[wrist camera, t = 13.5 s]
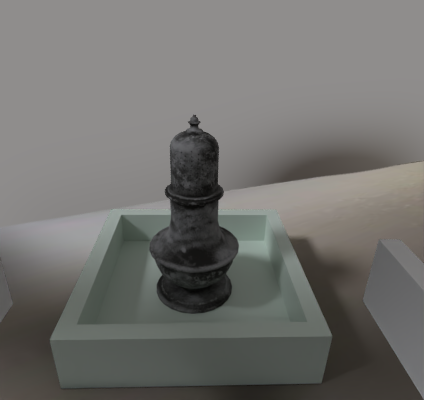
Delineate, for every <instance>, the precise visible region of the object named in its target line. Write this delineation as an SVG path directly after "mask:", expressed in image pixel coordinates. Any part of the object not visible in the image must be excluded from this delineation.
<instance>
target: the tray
mask: <svg viewBox="0 0 424 400" xmlns="http://www.w3.org/2000/svg"><path fill="white" fill-rule="evenodd" d="M170 221H171V209H111V211H110V213H109V215H108V217H107V220H106V222H105V224H104V226H103V228H102V230H101V232H100V234H99V236H98V239H97V241H96V243H95V245H94V247H93V249H92V251H91V253H90V255H89V258H88V260H87V262H86V264H85V266H84V268H83V270H82V272H81V275H80V277H79V279H78V281H77V283H76V285H75V287H74V289H73V291H72V294H71V296H70V298H69V300H68V302H67V304H66V306H65V308H64V310H63V313H62V315H61V317H60V319H59V321H58V323H57V325H56V327H55V329H54V332H53V334H52V336H51V338H50V340H49V341H50V345H51V349H52V353H53V357H54V362H55V366H56V370H57V374H58V378H59V383H60V387H61V389H66V388H117V387H167V386H218V385H269V384H319V383H322V380H323V375H324V371H325V367H326V362H327V358H328V354H329V349H330V345H331V341H332V334H331V332H330V330H329V327H328V325H327V323H326V321H325V318H324V316H323V314H322V312H321V309H320V307H319V305H318V303H317V300H316V298H315V296H314V294H313V291H312V289H311V287H310V285H309V282H308V280H307V278H306V276H305V273H304V271H303V269H302V267H301V264H300V262H299V260H298V258H297V255H296V253H295V251H294V249H293V246H292V244H291V242H290V240H289V237H288V235H287V233H286V231H285V228H284V226H283V224H282V222H281V219H280V217H279V215H278V213H277V210H238V209H218V223H219V226H221V227H223V228H225V229H227V230H228V231H230V232H231V233H232V234H233V235H234V236H235V237H236V238H237V241H238V243H239V249H238V253H237V255H236V257H235V258H234V259H233V263H232V265H231V266H230V268H229V270H228V272H227V273H226V274H227V276H228V277H229V279H230V280H231V284H232V291H231V295H230V297H229V299H228V300H227V301H226V302H225V303H224V304H223V305H222V306H220V307H218V308H216V309H215V310H212V311H209V312H205V313H196V314H190V313H181V312H178V311H175V310H172V309H171V308H169V307H167V306H166V305H164V304H163V303H162V301H161V300H160V299H159V297H158V295H157V282H158V280H159V278H160V277H161V276H162V273H161V272H160V270H159V268H158V266H157V264H156V262H155V259H154V258H153V257H152V255H151V253H150V251H149V247H150V242H151V240H152V238H153V236H154V235H156V234H157V233H158V232H159V231H160V230H162V229H164V228H166V227H168V226H169V225H170Z"/></svg>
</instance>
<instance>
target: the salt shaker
mask: <svg viewBox="0 0 424 400" xmlns="http://www.w3.org/2000/svg"><path fill="white" fill-rule="evenodd" d="M188 123H190V125H191V126H190V128H189V129H187V130H186V131H184V132H181V133H179V134H178V135H176V136H175V137H174V138H173V140H172V141H171V144H170V160H171V161H170V164H171V184H170V185H169V186H167V187H166V189H165V195H166V196H167V197H168V198H169V199H170V203H171V221H170V225H169V226H168V227H166V228H164V229H162V230H160V231H159V232H158V233H157V234H156V235H154V236H153V238H152V240H151V242H150V247H149V251H150V253H151V255H152V257H153V258H154V259H155V262H156V264H157V266H158V268H159V270H160V272H161V273H162V276H161V277H160V278H159V280H158V282H157V295H158V297H159V299H160V300H161V301H162V303H163V304H164V305H166V306H167V307H169V308H171V309H172V310H175V311H178V312H181V313H190V314H196V313H205V312H209V311H212V310H215V309H216V308H218V307H220V306H222V305H223V304H224V303H225V302H226V301H227V300H228V299H229V297H230V295H231V291H232V284H231V280H230V279H229V277H228V276H227V274H226V273H227V272H228V270H229V268H230V266H231V265H232V263H233V259H234V258H235V257H236V255H237V253H238V249H239V243H238V241H237V238H236V237H235V236H234V235H233V234H232V233H231V232H230V231H228V230H227V229H225V228H223V227H221V226H219V223H218V200H219V199H220V198H221V197H222V196H223V193H224V191H223V188H222V187H220V185H218V155H219V154H218V153H219V147H218V143H217V141H216V139H215V138H214V137H213V136H211V135H210V134H209V133H206V132H203V130H202V129H199V128H198V124H199V123H200V121H198V118H197V117H196V115H193V117H192V118H191V120H190V121H189V122H188Z"/></svg>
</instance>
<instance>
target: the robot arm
mask: <svg viewBox="0 0 424 400" xmlns="http://www.w3.org/2000/svg"><path fill="white" fill-rule="evenodd" d="M363 302H364V304H365V305H366V307H367V308H368V310H369V312H370V313H371V315H372V317H373V318H374V320H375V321H376V323H377V325H378V326H379V328H380V330H381V331H382V333H383V334H384V336H385V338H386V339H387V341H388V342H389V344H390V346H391V347H392V349H393V351H394V352H395V354H396V355H397V357H398V359H399V360H400V362H401V364H402V365H403V367H404V368H405V370H406V372H407V373H408V375H409V377H410V378H411V380H412V381H413V383H414V385H415V386H416V388H417V390H418V391H419V393H420V394H421V396H422V398H423V399H424V263H423V262H422V261H421V260H420V259H419V258H418V257H417V256H416V255H415V254H414V253H413V252H412V251H411V250H410V249H409V248H408V247H407V246H406V245H405V244H404V243H403V242H402V241H401V240H400V239H379V241H378V245H377V249H376V252H375V256H374V260H373V264H372V267H371V271H370V275H369V278H368V282H367V286H366V290H365V293H364V297H363ZM12 305H13V302H12V298H11V295H10V291H9V287H8V284H7V280H6V277H5V273H4V270H3V266H2V263H1V259H0V323H1V321H2V320H3V318H4V317H5V315H6V314H7V312H8V311H9V309H10V308H11V306H12Z"/></svg>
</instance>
